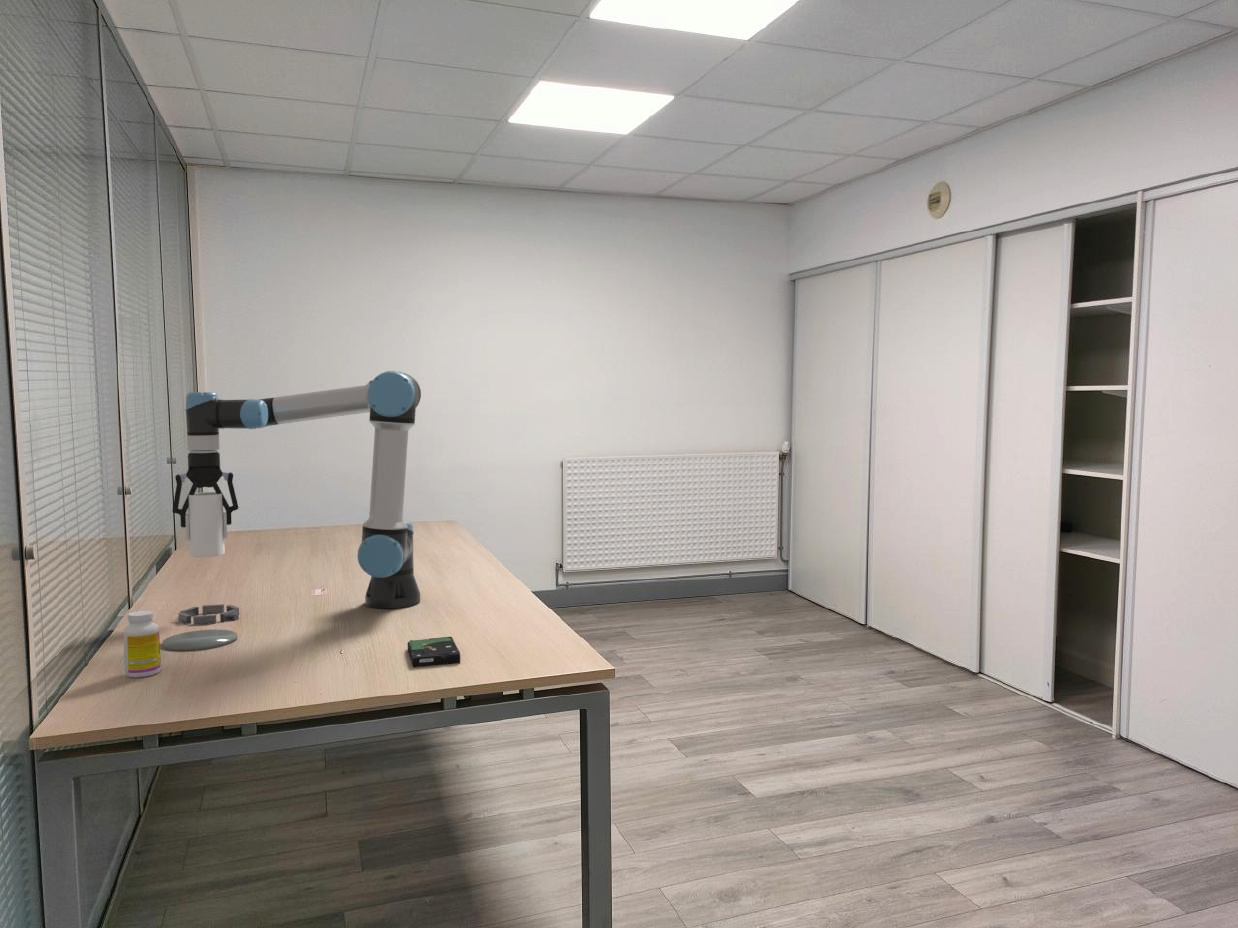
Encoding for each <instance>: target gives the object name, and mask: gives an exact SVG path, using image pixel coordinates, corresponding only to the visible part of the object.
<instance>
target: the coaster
mask: <svg viewBox="0 0 1238 928" xmlns="http://www.w3.org/2000/svg"><path fill="white" fill-rule="evenodd" d="M237 640H238V633H237V632H235V631H233V630H229V629H201V630H192V631H187V632H182V633H176V634H174V635H171V636H169V637H166V638H164V639H163V640H162V643H161V644H162V648H164V649H165V650H167V651H176V652H192V651H194V652H195V651H205V650H210V649H216V648H221V647H224V646H227V645H230V644H232V643H234V642H236V641H237Z"/></svg>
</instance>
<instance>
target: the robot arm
mask: <svg viewBox="0 0 1238 928" xmlns="http://www.w3.org/2000/svg"><path fill="white" fill-rule="evenodd" d="M421 398H422V390H421V387H420V385H419V383H418V381H417V380H416V379H415V378H414V377H413V376H411V375H410V374H407V373H404V372H402V371H396V370H388V371H385V372H381V373H379V374H378V375H377V376H375V377H374V378H373V379H372V380H369V381H368V383H366V384H364V385H358V386H350V387H343V388H342V387H341V388H336V389H335V388H334V389H327V390H321V391H320V390H319V391H313V392H312V391H311V392H305V393H297V394H291V395H282V396H281V395H280V396H276V397H269V398H268V397H267V398H260V399H255V398H250V399H219V397H218V394H217V392H214V391H213V392H212V391H211V392H210V391H205V392H204V391H203V392H201V391H198V392H197V391H196V392H195V391H194V392H193V391H192V392H188V393H187V394H186V397H185V410H184V411H185V418H186V445H187V446H186V447H187V449H186V450H187V451H189V452H188V453H187V466H188V467H187V472H186V473H181V474H180V473H178V474H175V476H174V477H175V482H176V487H175V493H174V500H173V505H172V513H173V514H177V515H179V516H180V527H181V528H185V535H186V536H185V538H186V540H185V541H190V536H189V514H188V513H187V511H188V507H189V495H194V494H195V493H196V492H197V489H202V488H213V490H214V492H216V493H217V494H221V493H222V504H223V509H224V510H225V511H223V520H224V539H228V526H229V525H232V523H233V522H232V513H233V512H235V511H237V510H239V504H238V499H237V494H236V493H235V492H236V491H235V487H234V483H233V479H234V474H233V472H225V471H224V472H223V471H222V468H221V456H220V455H221V453H219V450H220V432H219V431H220V430H221V429H223V430H224V429H243V430H244V429H245V430H246V429H249V430H252V429H253V430H256V429H262V428H266V427H270V426H271V427H272V426H278V425H283V424H293V423H299V422H307V421H314V420H321V419H329V418H337V417H344V416H350V415H351V416H353V415H358V414H366V413H367V414H368V413H369V418H368V419H369V420H368V421H369V423H370V424H371V425H372V426H373V427H374V436H373V450H372V451H373V453H372V467H371V468H372V469H371V485H370V500H369V512H368V513H369V515H368V516H369V517H368V519H367V520H365V522H363V523H362V529H361V530H362V531H361V532H362V533H361V543H360V545H359V547H358V550H357V561H358V564H359V567H360V568H361V570H362V571H363V572H365V573H366V575H369V576H370V580H369V583H368V586H367V589H366V593H365V596H364V600H365V601H364V604H365V606H367V607H370V608H377V609H396V608H397V609H399V608H404V607H406V608H407V607H411V606H415V605H417V604H419V603H420V602H421V591H420V589H419V586H418V583H417V580H416V578H415V575H414V574H415V571H414V530H413V529H414V528H413V523H411V522H410V521H404V519H403V517H404V501H405V487H406V486H405V485H406V472H407V471H406V469H407V454H408V440H409V431H410V429H411V428H413V426H414V425H416V423H415V421H416V409H417V407H418V405H419V404H420V402H421ZM222 477H223V478H224V479H223V480H224V481H226V482H227V488H228V491H229V494H230V500H231V504H232V505H231V506H230V505H229V503H228V501H227V499H226V497H225V495H224V494H223V492H222V490H221V487H220V486H219V484H218V482H219V481H220V479H221V478H222ZM186 478H187V479H188V480H189V481H190V482H191V484H192V485H191V487H190V490H189V492H188V494H187V497H186V499H185V501H184V503H183V505H182V508H179V504H180V499H181V495H182V494H181V492H182V489H183V488H182V487H183V483H184V482H185V481H186Z"/></svg>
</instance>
